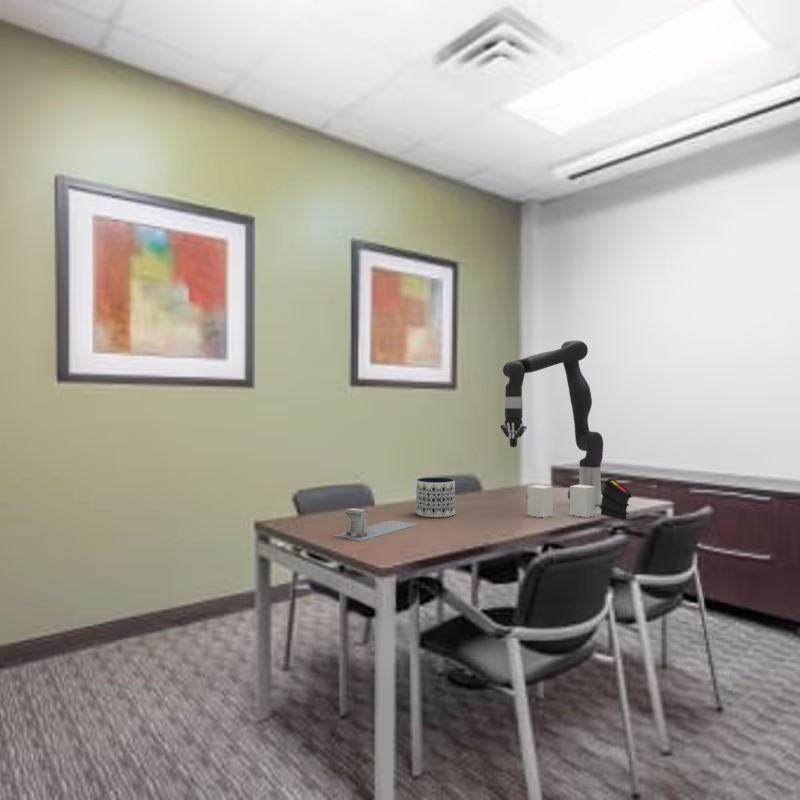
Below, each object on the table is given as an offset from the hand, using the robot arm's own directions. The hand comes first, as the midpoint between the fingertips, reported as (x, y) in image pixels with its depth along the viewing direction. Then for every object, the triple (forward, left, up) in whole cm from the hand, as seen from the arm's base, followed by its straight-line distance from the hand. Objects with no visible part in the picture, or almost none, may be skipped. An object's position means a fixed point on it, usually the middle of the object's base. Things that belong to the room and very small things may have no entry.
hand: (513, 447), depth 259 cm
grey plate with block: (+72, -6, -28) cm, 77 cm away
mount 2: (-10, +28, -27) cm, 40 cm away
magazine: (-18, +38, -27) cm, 50 cm away
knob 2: (-10, +26, -21) cm, 35 cm away
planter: (+34, -14, -27) cm, 46 cm away
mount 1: (+4, +17, -27) cm, 32 cm away
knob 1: (+4, +15, -21) cm, 26 cm away
